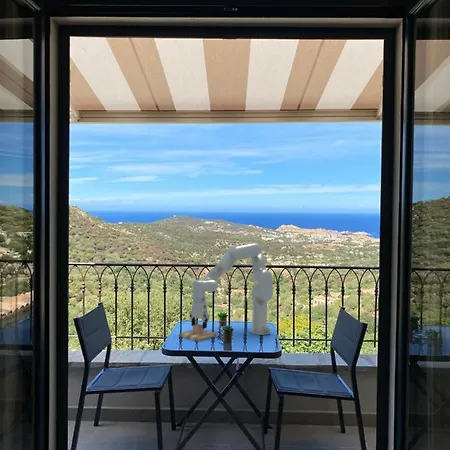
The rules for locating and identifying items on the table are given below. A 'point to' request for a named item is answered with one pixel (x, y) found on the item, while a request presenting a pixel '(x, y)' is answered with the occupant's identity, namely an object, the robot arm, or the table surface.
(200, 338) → the oak board
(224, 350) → the table surface
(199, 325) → the cube
